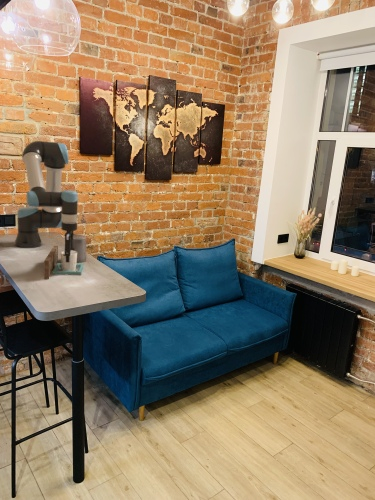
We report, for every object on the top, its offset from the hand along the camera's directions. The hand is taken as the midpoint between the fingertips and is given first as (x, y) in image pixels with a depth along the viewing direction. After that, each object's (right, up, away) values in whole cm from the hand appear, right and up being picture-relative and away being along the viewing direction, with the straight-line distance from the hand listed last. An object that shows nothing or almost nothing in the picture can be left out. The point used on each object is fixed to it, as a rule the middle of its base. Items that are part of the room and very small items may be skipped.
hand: (68, 265), depth 191 cm
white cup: (0, -3, +1) cm, 3 cm away
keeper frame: (0, -3, +1) cm, 3 cm away
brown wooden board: (-9, -2, -1) cm, 9 cm away
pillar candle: (-1, +2, +19) cm, 19 cm away
